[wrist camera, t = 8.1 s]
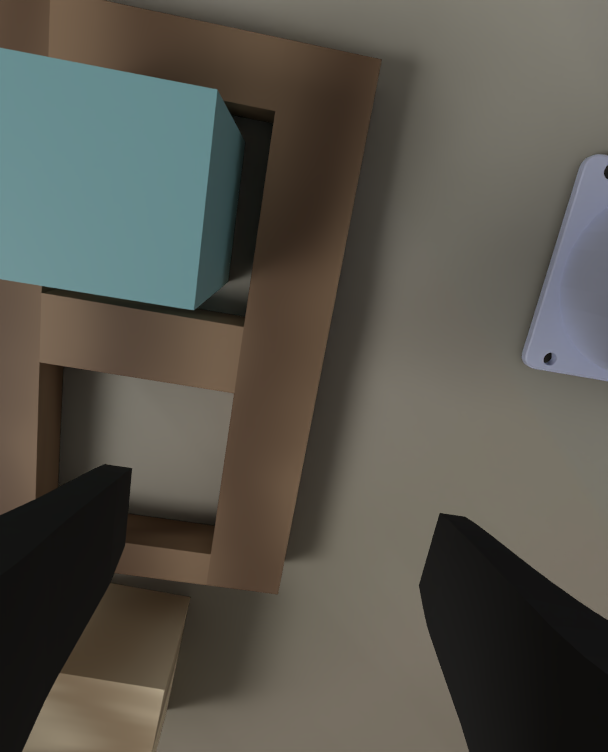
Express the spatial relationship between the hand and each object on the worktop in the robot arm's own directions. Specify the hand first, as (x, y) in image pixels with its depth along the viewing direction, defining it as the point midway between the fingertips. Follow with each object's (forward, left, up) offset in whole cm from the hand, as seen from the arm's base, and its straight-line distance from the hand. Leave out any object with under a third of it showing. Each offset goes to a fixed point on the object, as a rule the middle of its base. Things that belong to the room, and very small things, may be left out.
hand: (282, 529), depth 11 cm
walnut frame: (+6, -2, -9) cm, 11 cm away
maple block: (+5, +10, -7) cm, 14 cm away
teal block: (+6, -7, -10) cm, 13 cm away
